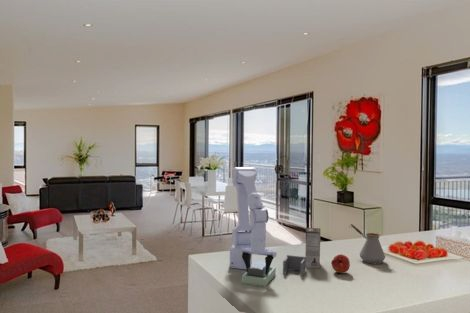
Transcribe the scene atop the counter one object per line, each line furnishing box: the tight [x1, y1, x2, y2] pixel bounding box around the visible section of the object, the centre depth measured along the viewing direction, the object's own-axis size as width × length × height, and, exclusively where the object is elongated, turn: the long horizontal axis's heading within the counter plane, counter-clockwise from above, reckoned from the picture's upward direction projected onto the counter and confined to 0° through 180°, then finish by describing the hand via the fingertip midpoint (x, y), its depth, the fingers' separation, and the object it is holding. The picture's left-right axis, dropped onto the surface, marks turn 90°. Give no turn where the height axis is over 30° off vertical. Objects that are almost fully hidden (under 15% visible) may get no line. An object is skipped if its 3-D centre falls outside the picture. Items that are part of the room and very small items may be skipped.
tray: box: [241, 266, 277, 287], centre depth 166 cm, size 10×16×3 cm, turn 161°
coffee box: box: [304, 227, 321, 269], centre depth 186 cm, size 9×6×16 cm
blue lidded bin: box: [248, 260, 267, 278], centre depth 165 cm, size 6×11×6 cm, turn 160°
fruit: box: [331, 254, 351, 274], centre depth 175 cm, size 8×8×8 cm
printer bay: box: [282, 254, 307, 277], centre depth 175 cm, size 8×8×6 cm
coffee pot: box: [348, 224, 386, 265], centre depth 198 cm, size 21×12×15 cm, turn 25°
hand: (257, 272), depth 163 cm, fingers open, 7 cm apart
